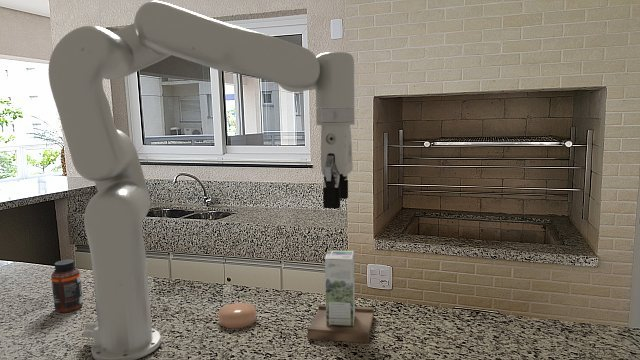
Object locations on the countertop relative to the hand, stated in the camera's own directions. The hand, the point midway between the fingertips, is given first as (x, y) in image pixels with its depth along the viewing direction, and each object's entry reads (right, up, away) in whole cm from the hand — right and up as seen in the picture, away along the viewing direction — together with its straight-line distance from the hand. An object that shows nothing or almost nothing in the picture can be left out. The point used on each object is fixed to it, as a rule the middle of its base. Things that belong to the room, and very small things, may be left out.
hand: (336, 203), depth 97 cm
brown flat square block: (+1, -26, +3) cm, 26 cm away
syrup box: (+1, -25, +3) cm, 25 cm away
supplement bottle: (-62, -26, +16) cm, 69 cm away
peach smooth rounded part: (-21, -26, +8) cm, 35 cm away
